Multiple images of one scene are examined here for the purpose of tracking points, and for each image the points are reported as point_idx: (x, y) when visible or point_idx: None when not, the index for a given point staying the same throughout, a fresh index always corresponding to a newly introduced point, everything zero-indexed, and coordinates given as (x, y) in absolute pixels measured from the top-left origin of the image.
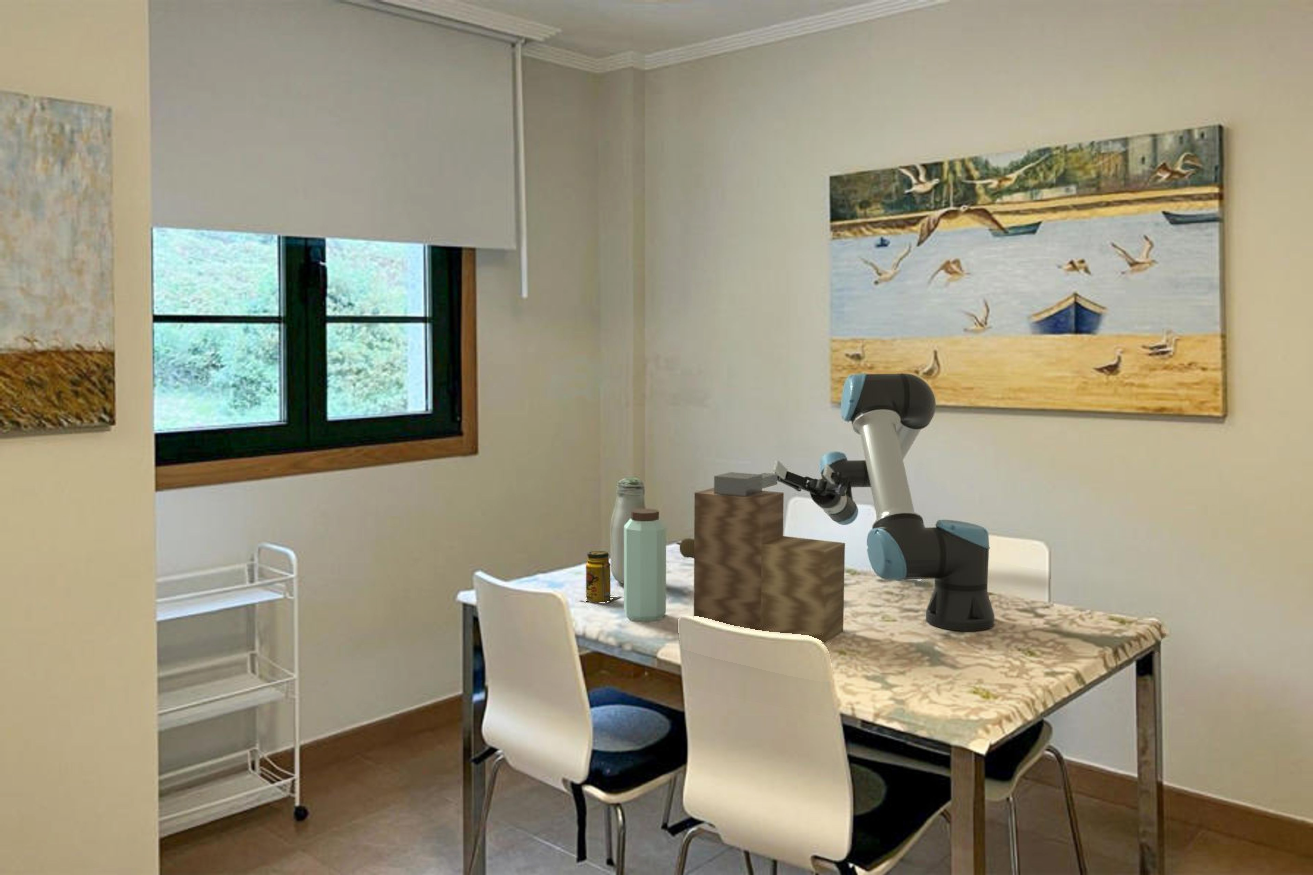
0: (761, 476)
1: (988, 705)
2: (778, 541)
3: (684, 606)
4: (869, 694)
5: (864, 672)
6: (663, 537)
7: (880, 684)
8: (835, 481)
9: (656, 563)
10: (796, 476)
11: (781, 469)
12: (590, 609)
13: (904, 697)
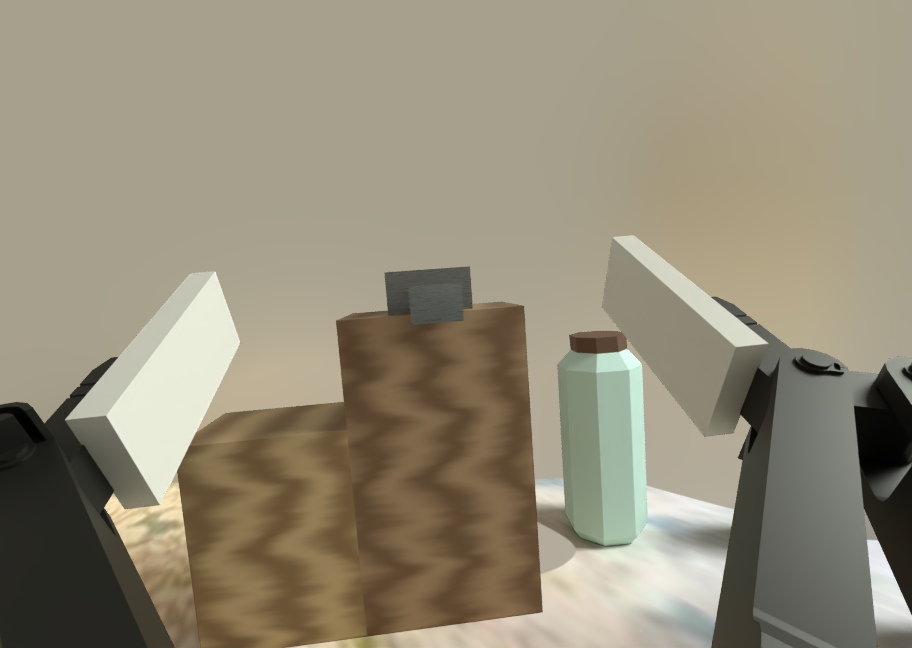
0: (385, 276)
1: None
2: (337, 413)
3: (629, 600)
4: (179, 499)
5: (177, 532)
6: (564, 385)
7: (159, 518)
8: (105, 483)
9: (561, 423)
10: (758, 501)
11: (653, 319)
12: (706, 509)
13: (134, 508)
